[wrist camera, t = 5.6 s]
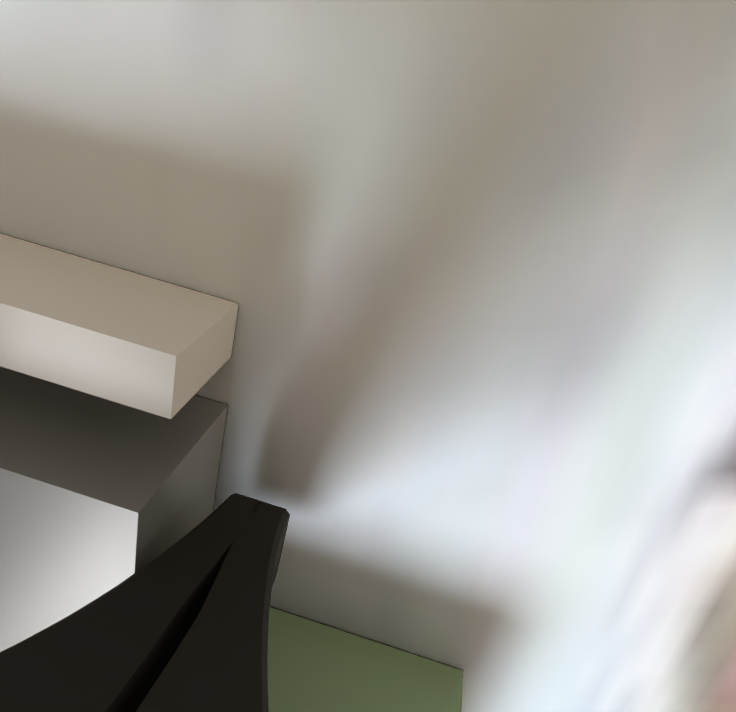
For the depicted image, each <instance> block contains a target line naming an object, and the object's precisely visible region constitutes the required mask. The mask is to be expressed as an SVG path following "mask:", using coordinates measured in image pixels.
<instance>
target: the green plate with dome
mask: <svg viewBox="0 0 736 712" xmlns="http://www.w3.org/2000/svg"><path fill="white" fill-rule="evenodd" d="M237 311H238V303H235V302H231V301H228V300H224V299H221V298H218V297H214V296H211V295H207V294H204V293H201V292H197V291H194V290H190V289H187V288H184V287H180V286H177V285H173V284H170V283H167V282H163V281H160V280H157V279H153V278H150V277H146V276H143V275H140V274H136V273H133V272H129V271H126V270H123V269H119V268H116V267H112V266H109V265H106V264H102V263H99V262H95V261H92V260H89V259H85V258H82V257H78V256H75V255H72V254H68V253H65V252H62V251H58V250H55V249H51V248H48V247H45V246H41V245H38V244H34V243H31V242H28V241H24V240H21V239H17V238H14V237H11V236H7V235H4V234H0V366H1V367H4V368H7V369H11V370H14V371H17V372H20V373H24V374H27V375H30V376H33V377H36V378H40V379H43V380H46V381H49V382H52V383H56V384H59V385H62V386H65V387H69V388H72V389H75V390H78V391H81V392H85V393H88V394H91V395H94V396H97V397H101V398H104V399H107V400H110V401H114V402H117V403H120V404H123V405H126V406H130V407H133V408H136V409H139V410H142V411H146V412H149V413H152V414H155V415H159V416H162V417H165V418H168V419H172V417H173V416H174V415H175V414H176V413H177V412H178V411H179V410H180V409H181V408H182V407H183V406H184V405H185V404H186V403H187V402H188V401H189V400H190V399H191V398H192V397H193V396H194V395H195V394H196V393H197V392H198V391H199V390H200V389H201V388H202V387H203V385H204V384H205V383H206V382H207V381H208V380H209V379H210V378H211V377H212V376H213V375H214V374H215V373H216V372H217V371H218V370H219V369H220V368H221V367H222V366H223V365H224V364H225V363H226V362H227V361H228V360H229V359H230V358H231V355H232V347H233V340H234V333H235V326H236V318H237ZM267 665H268V708H269V712H461V707H462V678H463V671H462V670H459V669H456V668H453V667H450V666H447V665H444V664H441V663H438V662H435V661H432V660H429V659H426V658H423V657H420V656H417V655H414V654H411V653H408V652H405V651H402V650H399V649H396V648H393V647H390V646H387V645H384V644H381V643H378V642H375V641H371V640H368V639H365V638H362V637H359V636H356V635H353V634H350V633H347V632H344V631H341V630H338V629H335V628H332V627H329V626H326V625H323V624H320V623H317V622H314V621H311V620H308V619H305V618H302V617H299V616H296V615H293V614H290V613H287V612H284V611H281V610H278V609H275V608H272V607H270V609H269V626H268V661H267Z"/></svg>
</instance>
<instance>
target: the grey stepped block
mask: <svg viewBox="0 0 736 712" xmlns="http://www.w3.org/2000/svg"><path fill="white" fill-rule="evenodd" d="M227 408H228V405H226V404H223V403H219V402H216V401H213V400H210V399H206V398H203V397H200V396H197V395H194V396H193V397H192V398H191V399H190V400H189V401H188V402H187V403H186V404H185V405H184V406H183V407H182V408H181V409H180V410H179V411H178V412H177V413H176V414H175V415H174V416H173V417H172V419H168V418H165V417H162V416H159V415H155V414H152V413H149V412H146V411H142V410H139V409H136V408H133V407H130V406H126V405H123V404H120V403H117V402H114V401H110V400H107V399H104V398H101V397H97V396H94V395H91V394H88V393H85V392H81V391H78V390H75V389H72V388H69V387H65V386H62V385H59V384H56V383H52V382H49V381H46V380H43V379H40V378H36V377H33V376H30V375H27V374H24V373H20V372H17V371H14V370H11V369H7V368H4V367H1V366H0V652H1V651H3V650H5V649H7V648H9V647H11V646H13V645H15V644H17V643H19V642H21V641H23V640H25V639H27V638H29V637H31V636H33V635H34V634H36V633H38V632H40V631H42V630H43V629H45V628H47V627H49V626H51V625H53V624H54V623H56V622H58V621H60V620H62V619H64V618H65V617H67V616H69V615H71V614H72V613H74V612H76V611H77V610H79V609H81V608H82V607H84V606H86V605H87V604H89V603H91V602H92V601H94V600H95V599H97V598H99V597H100V596H102V595H103V594H105V593H106V592H108V591H109V590H111V589H113V588H114V587H116V586H117V585H119V584H120V583H122V582H123V581H124V580H126V579H127V578H129V577H130V576H132V575H133V574H134V573H136V572H137V571H139V570H140V569H141V568H143V567H144V566H146V565H147V564H149V563H150V562H151V561H153V560H154V559H156V558H157V557H158V556H160V555H161V554H162V553H163V552H165V551H166V550H167V549H169V548H170V547H171V546H172V545H174V544H175V543H176V542H177V541H179V540H180V539H181V538H183V537H184V536H185V535H186V534H188V533H189V532H190V531H191V530H192V529H194V528H195V527H196V526H197V525H198V524H200V523H201V522H202V521H203V520H204V519H206V518H207V517H208V516H209V515H210V514H211V513H212V512H213V506H214V499H215V492H216V485H217V478H218V471H219V464H220V457H221V450H222V443H223V436H224V429H225V422H226V415H227Z"/></svg>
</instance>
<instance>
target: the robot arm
mask: <svg viewBox="0 0 736 712" xmlns="http://www.w3.org/2000/svg"><path fill="white" fill-rule="evenodd" d="M289 517H290V514H289V513H288V511H287V510H286V509H284V508H281V507H278V506H274V505H271V504H268V503H265V502H262V501H259V500H256V499H253V498H249V497H246V496H243V495H240V494H237V493H236V494H233V495H231V496H230V497H229V498H228V499H227V500H225V501H224V502H223V503H222V504H221V505H220V506H219V507H218V508H217V509H216V510H215V511H213V512H212V513H211V514H210V515H209V516H208V517H207V518H206V519H204V520H203V521H202V522H201V523H200V524H198V525H197V526H196V527H195V528H194V529H192V530H191V531H190V532H189V533H188V534H186V535H185V536H184V537H183V538H181V539H180V540H179V541H177V542H176V543H175V544H174V545H172V546H171V547H170V548H169V549H167V550H166V551H165V552H163V553H162V554H161V555H160V556H158V557H157V558H156V559H154V560H153V561H151V562H150V563H149V564H147V565H146V566H144V567H143V568H141V569H140V570H139V571H137V572H136V573H134V574H133V575H132V576H130V577H129V578H127V579H126V580H124V581H123V582H122V583H120V584H119V585H117V586H116V587H114V588H113V589H111V590H109V591H108V592H106V593H105V594H103V595H102V596H100V597H99V598H97V599H95V600H94V601H92V602H91V603H89V604H87V605H86V606H84V607H82V608H81V609H79V610H77V611H76V612H74V613H72V614H71V615H69V616H67V617H65V618H64V619H62V620H60V621H58V622H56V623H54V624H53V625H51V626H49V627H47V628H45V629H43V630H42V631H40V632H38V633H36V634H34V635H33V636H31V637H29V638H27V639H25V640H23V641H21V642H19V643H17V644H15V645H13V646H11V647H9V648H7V649H5V650H3V651H1V652H0V712H269V708H268V665H267V661H268V626H269V609H270V598H271V589H272V586H273V583H274V580H275V577H276V574H277V570H278V565H279V561H280V557H281V552H282V548H283V543H284V539H285V534H286V530H287V526H288V521H289Z"/></svg>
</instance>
